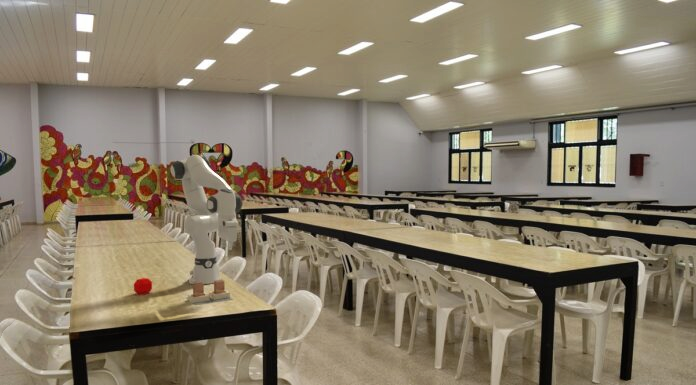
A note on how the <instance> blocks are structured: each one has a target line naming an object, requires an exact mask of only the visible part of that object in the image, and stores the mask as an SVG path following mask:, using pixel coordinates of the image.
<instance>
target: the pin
mask: <svg viewBox="0 0 696 385" xmlns="http://www.w3.org/2000/svg"><path fill="white" fill-rule="evenodd" d="M204 285H205V284H203V283H202V282H199V283H193V284H192V294H193V297H198V296H204V292H205V290H204V289H205V288H204V287H205V286H204Z"/></svg>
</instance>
